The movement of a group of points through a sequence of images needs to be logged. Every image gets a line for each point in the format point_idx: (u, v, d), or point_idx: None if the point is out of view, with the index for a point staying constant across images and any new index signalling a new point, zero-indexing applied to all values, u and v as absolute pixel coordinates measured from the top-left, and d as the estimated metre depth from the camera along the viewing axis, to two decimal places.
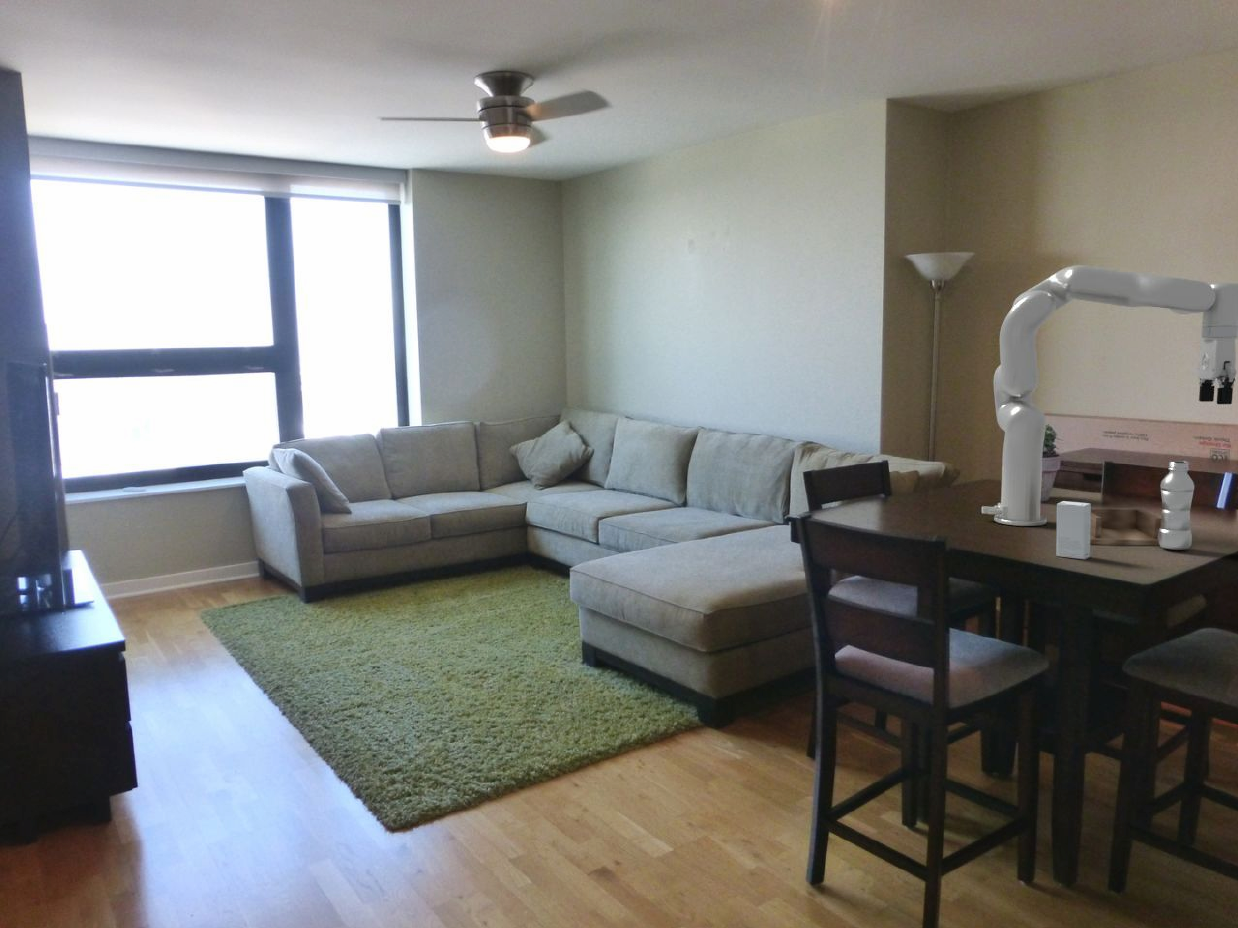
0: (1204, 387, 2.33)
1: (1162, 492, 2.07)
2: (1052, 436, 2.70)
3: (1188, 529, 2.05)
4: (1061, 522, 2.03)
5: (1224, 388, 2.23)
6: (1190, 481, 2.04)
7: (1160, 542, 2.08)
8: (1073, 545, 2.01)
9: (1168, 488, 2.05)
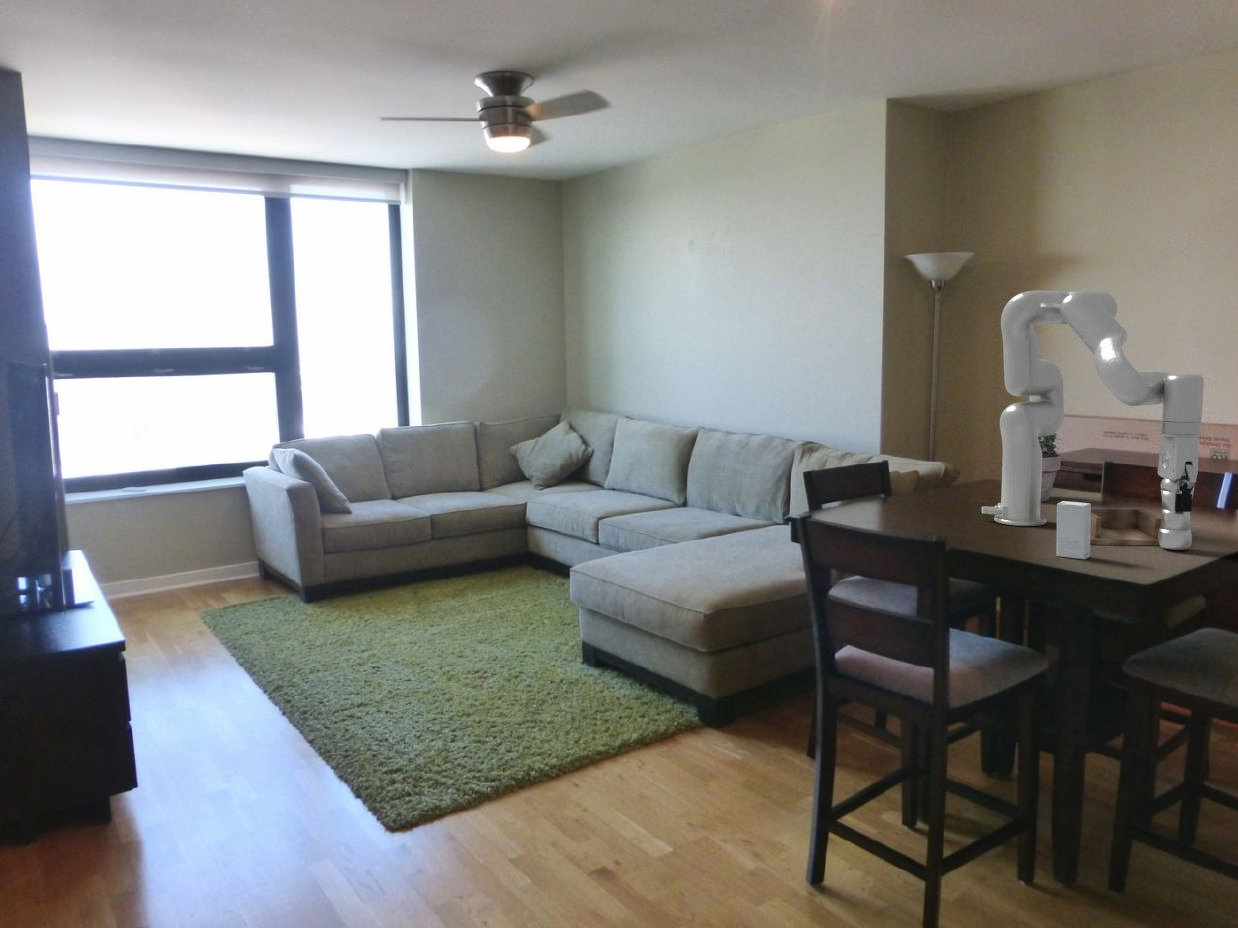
0: None
1: (1162, 492, 2.07)
2: (1052, 436, 2.70)
3: (1188, 529, 2.05)
4: (1061, 522, 2.03)
5: (1182, 494, 2.02)
6: None
7: (1160, 542, 2.08)
8: (1073, 545, 2.01)
9: (1168, 488, 2.05)
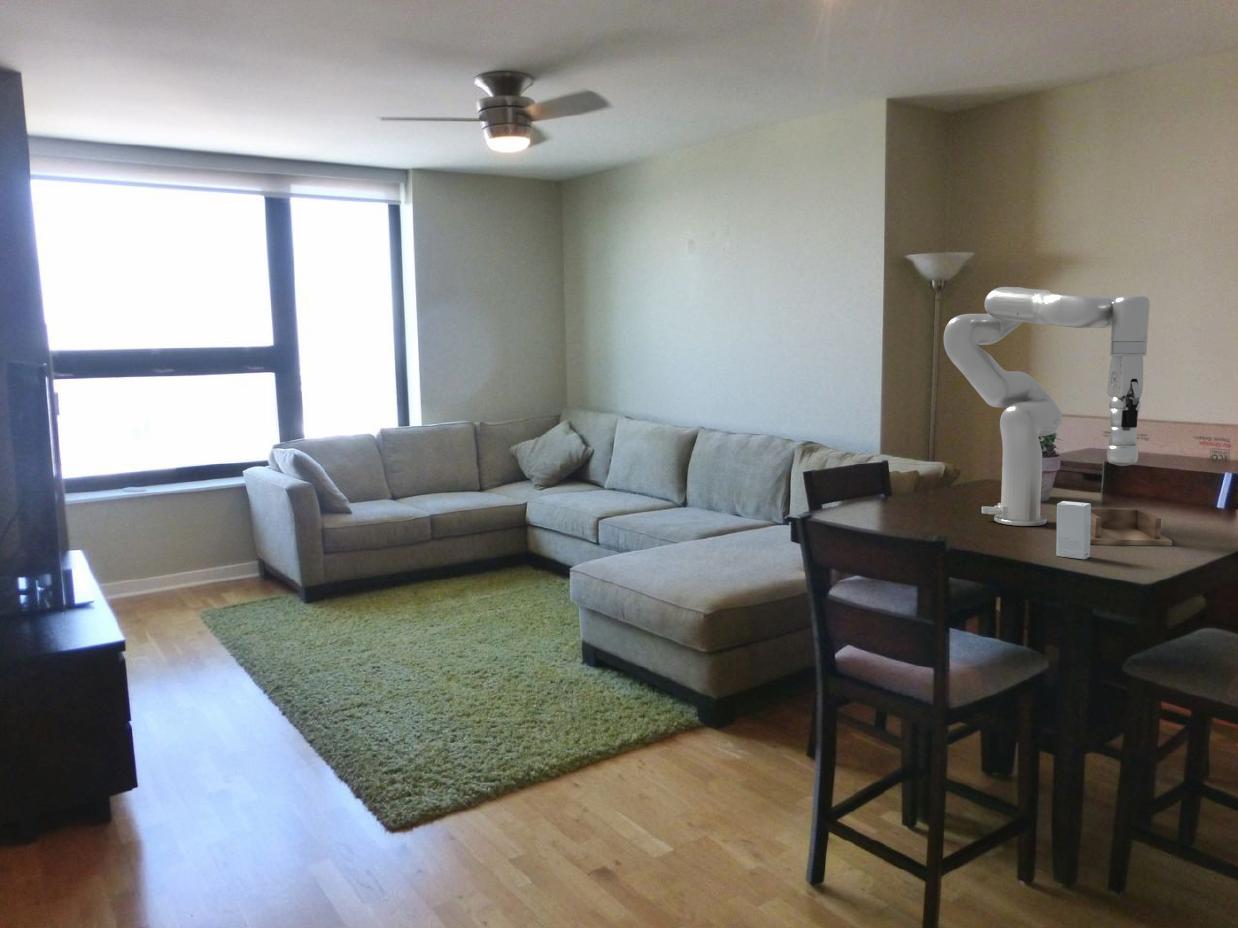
0: None
1: (1110, 410, 2.17)
2: (1052, 436, 2.70)
3: (1134, 445, 2.16)
4: (1061, 522, 2.03)
5: (1128, 411, 2.13)
6: None
7: (1108, 458, 2.19)
8: (1073, 545, 2.01)
9: (1115, 405, 2.15)
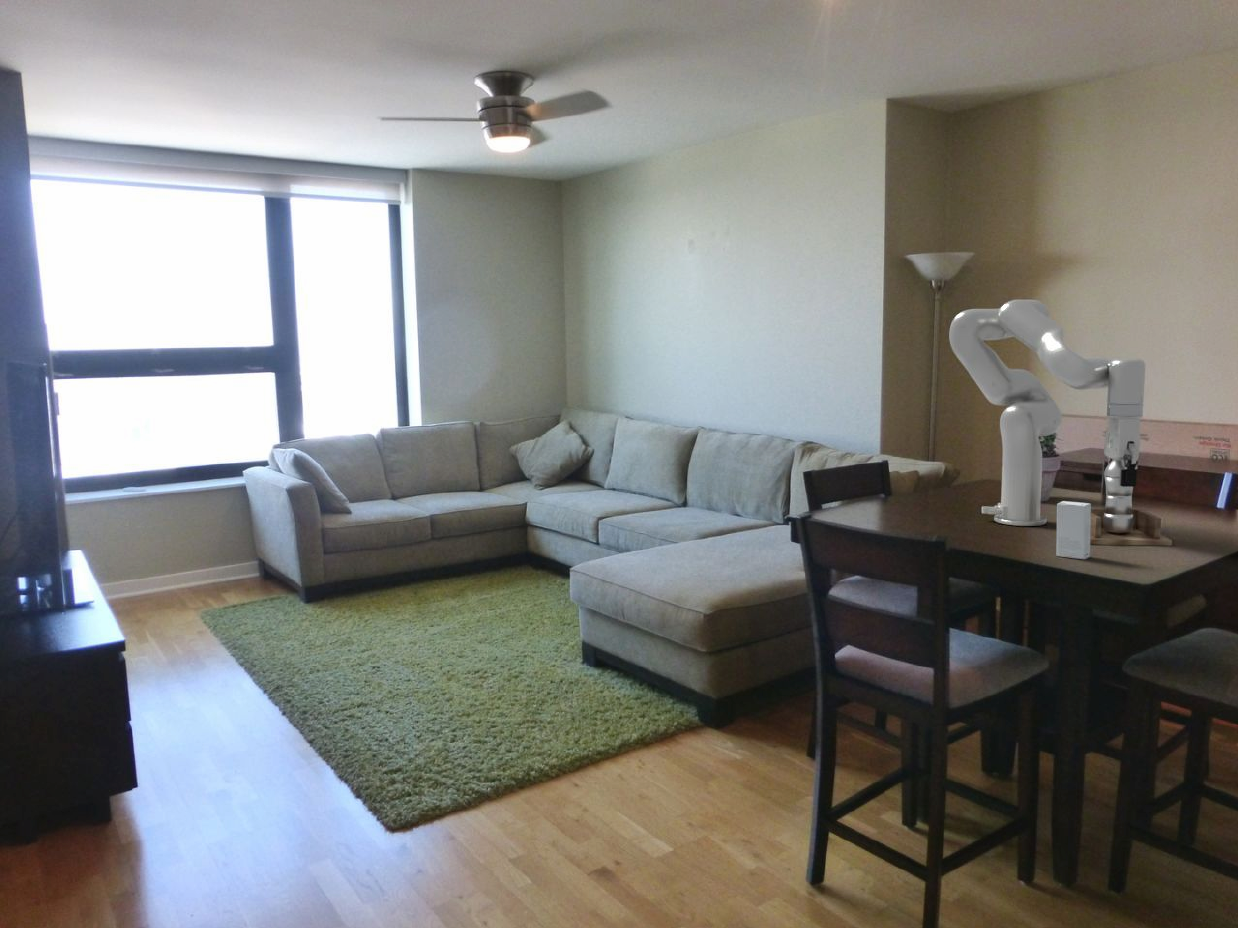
0: None
1: (1105, 479, 2.20)
2: (1052, 436, 2.70)
3: (1130, 513, 2.18)
4: (1061, 522, 2.03)
5: (1127, 470, 2.13)
6: None
7: (1104, 526, 2.21)
8: (1073, 545, 2.01)
9: (1110, 474, 2.18)
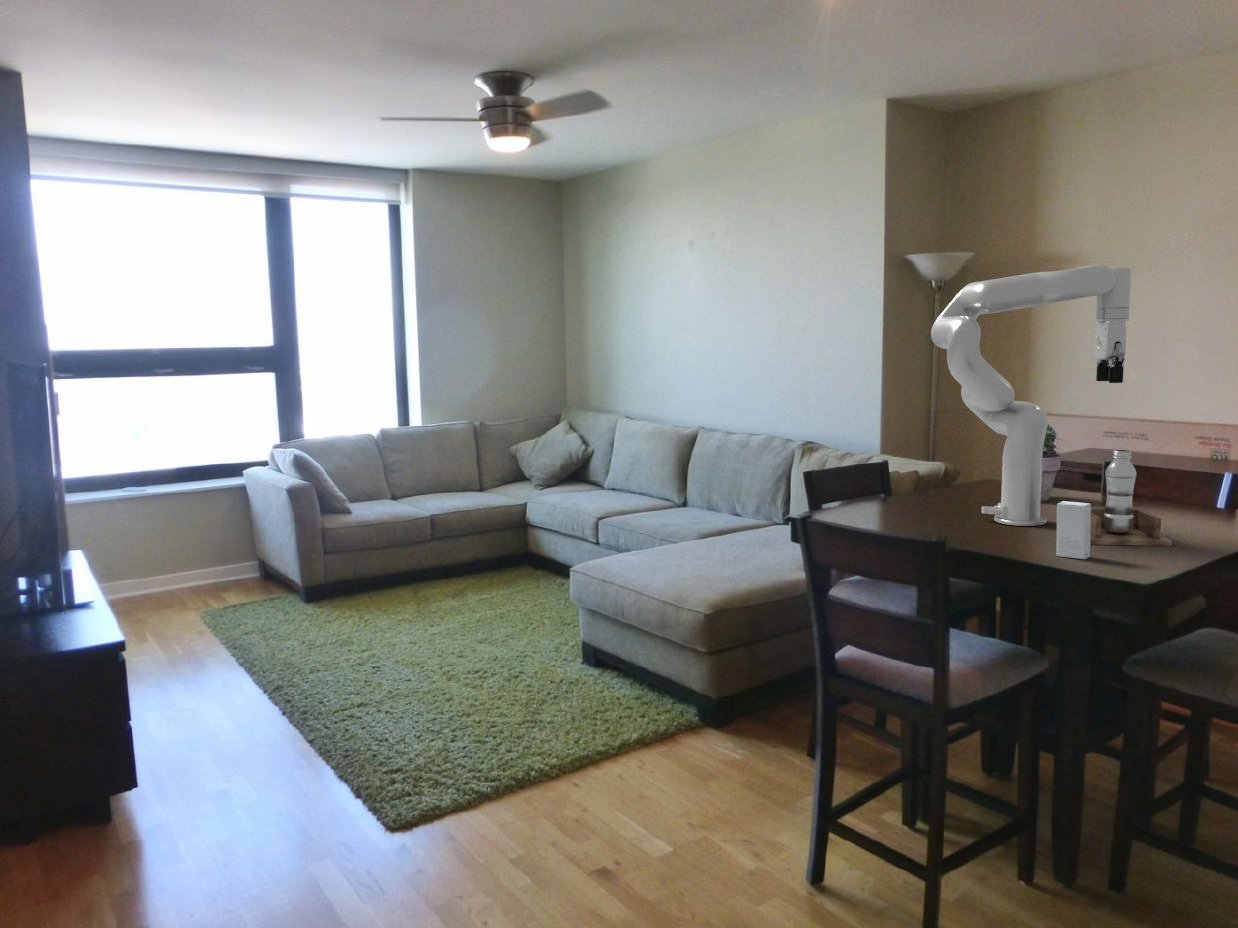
0: (1100, 367, 2.43)
1: (1106, 479, 2.19)
2: (1052, 436, 2.70)
3: (1130, 514, 2.18)
4: (1061, 522, 2.03)
5: (1115, 367, 2.33)
6: (1132, 468, 2.16)
7: (1104, 525, 2.21)
8: (1073, 545, 2.01)
9: (1111, 474, 2.18)
